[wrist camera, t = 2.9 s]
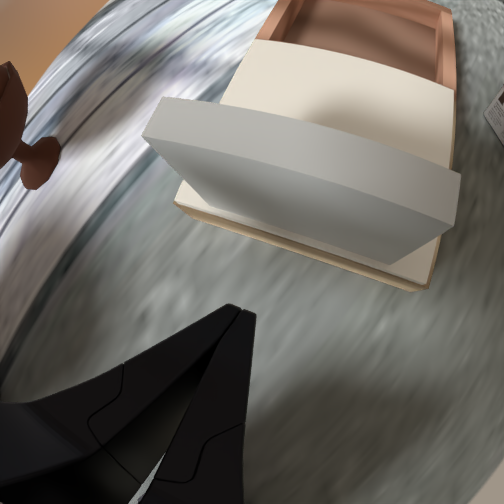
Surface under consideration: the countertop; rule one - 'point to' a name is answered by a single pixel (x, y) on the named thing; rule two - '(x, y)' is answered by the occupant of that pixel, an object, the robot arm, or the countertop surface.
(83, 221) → the countertop surface
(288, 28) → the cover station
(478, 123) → the countertop surface
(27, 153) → the ice cream bowl
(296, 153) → the white l-shaped piece
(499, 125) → the coffee box
